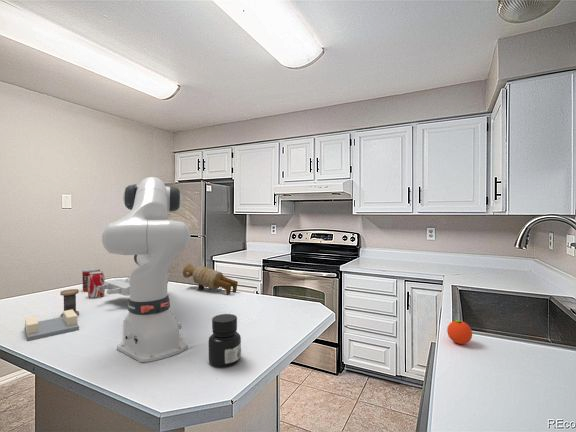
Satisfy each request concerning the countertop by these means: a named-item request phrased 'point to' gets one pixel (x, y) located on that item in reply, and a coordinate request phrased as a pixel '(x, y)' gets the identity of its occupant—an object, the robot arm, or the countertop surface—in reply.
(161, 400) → the countertop surface
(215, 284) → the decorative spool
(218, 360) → the ink bottle
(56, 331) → the terminal board
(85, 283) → the red printed box
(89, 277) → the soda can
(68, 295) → the bobbin
